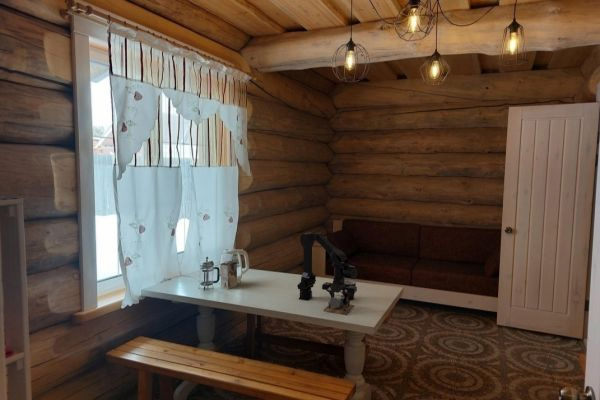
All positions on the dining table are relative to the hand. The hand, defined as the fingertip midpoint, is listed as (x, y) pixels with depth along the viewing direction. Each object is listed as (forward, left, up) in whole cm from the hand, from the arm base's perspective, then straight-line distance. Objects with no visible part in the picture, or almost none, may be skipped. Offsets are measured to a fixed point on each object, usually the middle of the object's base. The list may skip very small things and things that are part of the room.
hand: (339, 302), depth 225 cm
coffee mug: (-2, +19, -4) cm, 19 cm away
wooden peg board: (0, 0, -4) cm, 4 cm away
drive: (0, 0, -1) cm, 1 cm away
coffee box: (-78, +7, -4) cm, 78 cm away
